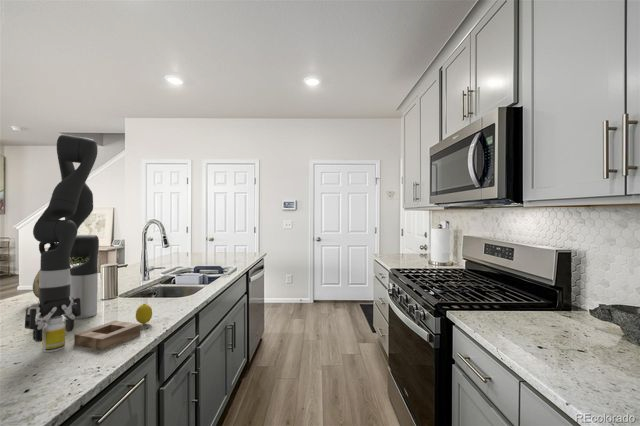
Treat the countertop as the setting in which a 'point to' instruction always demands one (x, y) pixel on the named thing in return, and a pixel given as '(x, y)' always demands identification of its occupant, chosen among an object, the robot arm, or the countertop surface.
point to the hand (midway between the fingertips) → (54, 336)
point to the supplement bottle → (53, 335)
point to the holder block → (107, 335)
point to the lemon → (143, 314)
